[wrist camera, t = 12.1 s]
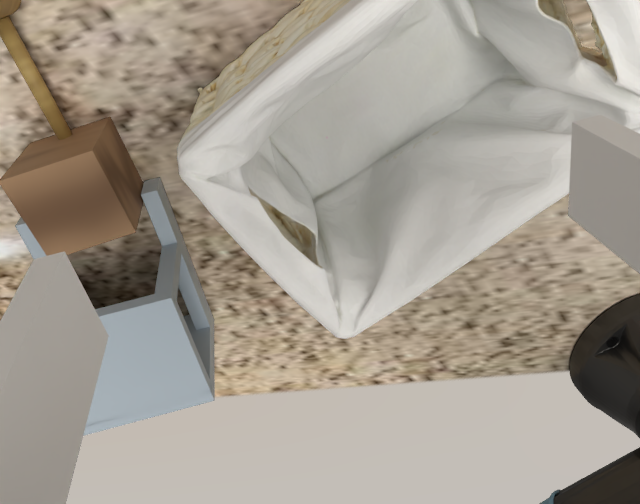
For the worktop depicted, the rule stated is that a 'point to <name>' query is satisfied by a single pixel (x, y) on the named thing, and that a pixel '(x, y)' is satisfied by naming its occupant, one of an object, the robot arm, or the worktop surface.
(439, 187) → the storage basket
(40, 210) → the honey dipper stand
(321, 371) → the worktop surface
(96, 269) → the worktop surface
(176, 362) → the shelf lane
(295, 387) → the worktop surface
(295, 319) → the worktop surface
